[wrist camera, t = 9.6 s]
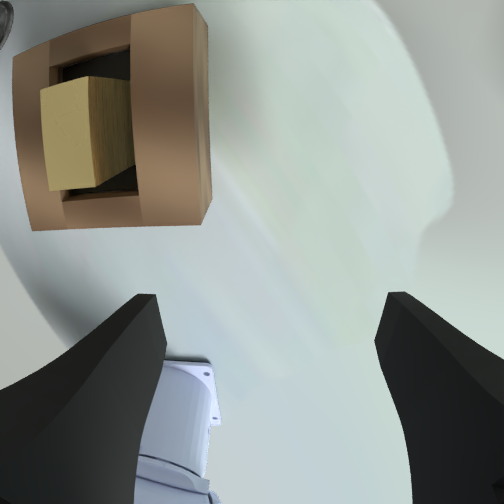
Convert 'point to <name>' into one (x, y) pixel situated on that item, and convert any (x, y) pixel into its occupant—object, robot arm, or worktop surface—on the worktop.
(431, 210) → the worktop surface
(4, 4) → the salt shaker
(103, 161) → the block
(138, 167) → the walnut box
